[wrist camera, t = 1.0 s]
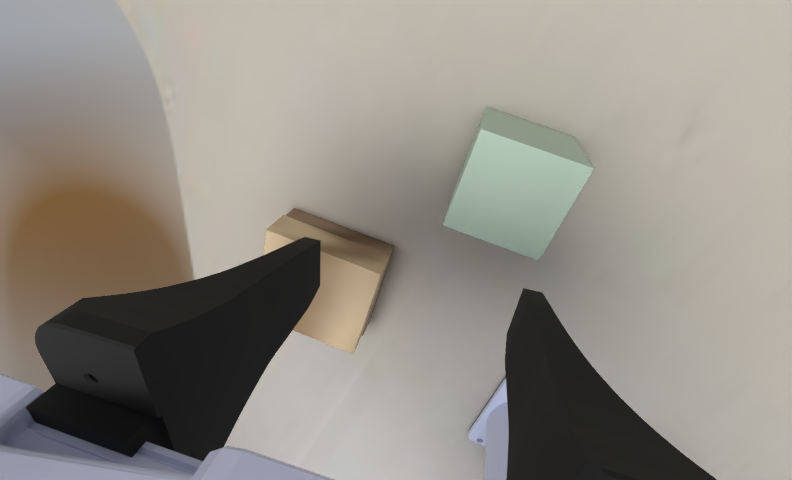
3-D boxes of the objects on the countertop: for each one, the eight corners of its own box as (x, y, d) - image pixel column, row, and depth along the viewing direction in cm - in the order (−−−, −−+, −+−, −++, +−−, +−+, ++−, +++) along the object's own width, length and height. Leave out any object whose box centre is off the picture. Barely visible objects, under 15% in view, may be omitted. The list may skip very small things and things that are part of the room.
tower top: (389, 256, 23) (380, 274, 21) (362, 333, 26) (353, 354, 25) (283, 214, 23) (266, 229, 21) (271, 297, 27) (256, 315, 25)
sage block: (573, 136, 18) (594, 168, 14) (532, 213, 21) (538, 260, 17) (486, 106, 19) (480, 128, 14) (455, 185, 21) (442, 225, 17)
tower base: (395, 242, 24) (387, 258, 23) (371, 317, 28) (362, 335, 26) (297, 205, 25) (282, 218, 23) (286, 283, 29) (272, 299, 27)
